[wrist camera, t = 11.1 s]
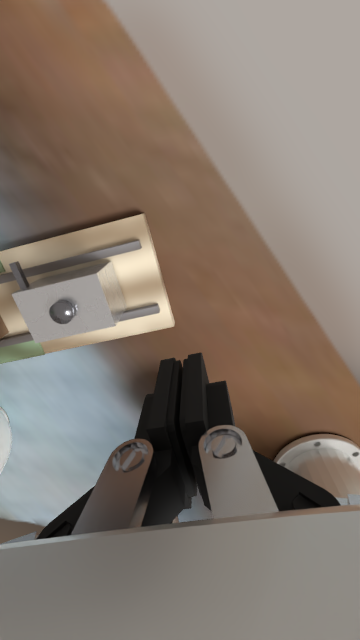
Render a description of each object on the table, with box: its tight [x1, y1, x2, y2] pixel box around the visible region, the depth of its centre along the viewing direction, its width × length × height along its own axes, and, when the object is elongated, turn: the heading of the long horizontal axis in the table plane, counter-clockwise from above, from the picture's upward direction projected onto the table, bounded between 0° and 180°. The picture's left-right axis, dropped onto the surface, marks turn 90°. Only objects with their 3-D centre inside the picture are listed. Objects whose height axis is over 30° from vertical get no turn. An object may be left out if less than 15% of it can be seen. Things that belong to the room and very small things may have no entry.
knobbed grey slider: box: [9, 261, 127, 343], centre depth 28 cm, size 7×8×6 cm
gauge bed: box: [0, 213, 175, 364], centre depth 29 cm, size 12×26×7 cm, turn 104°
